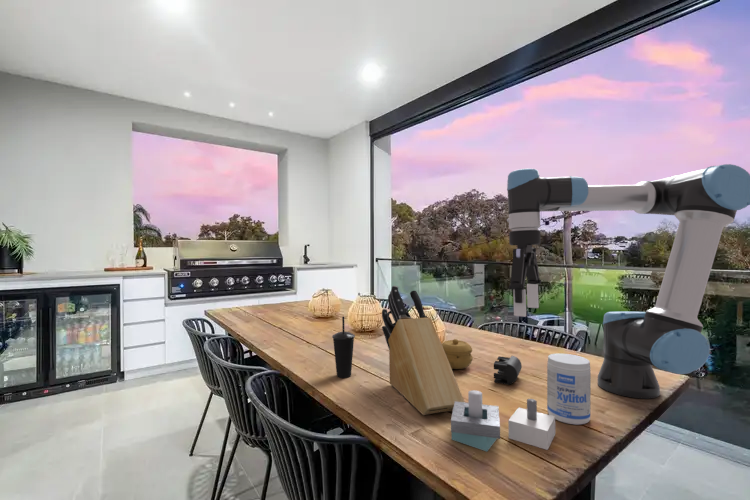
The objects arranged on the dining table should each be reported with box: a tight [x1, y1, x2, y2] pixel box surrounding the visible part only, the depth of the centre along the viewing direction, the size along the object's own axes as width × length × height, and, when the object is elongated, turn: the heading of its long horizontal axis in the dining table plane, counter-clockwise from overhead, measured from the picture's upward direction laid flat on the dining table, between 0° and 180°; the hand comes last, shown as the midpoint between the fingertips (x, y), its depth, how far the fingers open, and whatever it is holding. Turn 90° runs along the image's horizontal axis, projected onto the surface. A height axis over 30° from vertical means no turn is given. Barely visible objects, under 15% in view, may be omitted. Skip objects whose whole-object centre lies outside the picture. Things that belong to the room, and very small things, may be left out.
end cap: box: [493, 355, 522, 386], centre depth 114 cm, size 10×7×7 cm
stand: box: [507, 398, 556, 451], centre depth 80 cm, size 8×8×8 cm
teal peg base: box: [451, 390, 498, 452], centre depth 79 cm, size 8×8×10 cm
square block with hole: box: [450, 401, 501, 440], centre depth 80 cm, size 10×10×2 cm
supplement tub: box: [546, 352, 592, 426], centre depth 89 cm, size 10×10×15 cm
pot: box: [441, 338, 474, 370], centre depth 127 cm, size 12×12×10 cm
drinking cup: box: [331, 316, 356, 379], centre depth 120 cm, size 8×8×20 cm
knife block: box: [381, 285, 465, 416], centre depth 105 cm, size 11×35×31 cm, turn 19°
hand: (527, 311), depth 92 cm, fingers open, 13 cm apart
